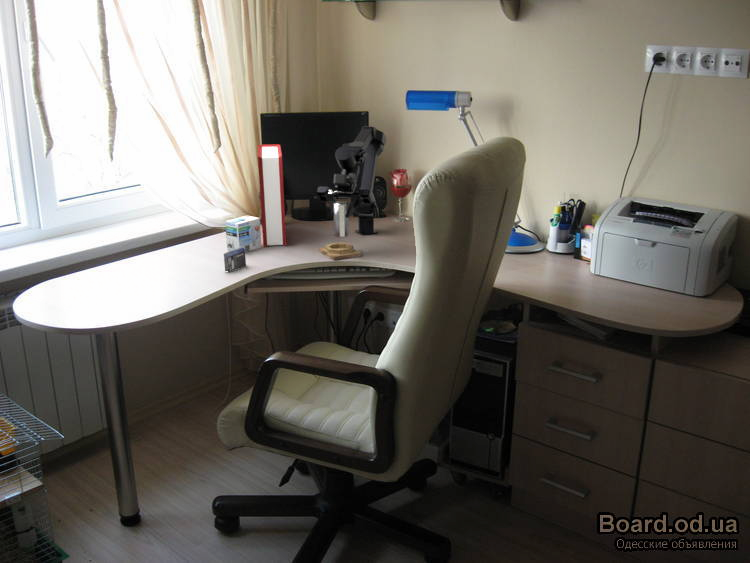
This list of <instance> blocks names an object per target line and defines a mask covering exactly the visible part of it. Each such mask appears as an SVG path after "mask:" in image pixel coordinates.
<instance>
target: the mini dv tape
mask: <svg viewBox="0 0 750 563" xmlns="http://www.w3.org/2000/svg"><path fill="white" fill-rule="evenodd" d="M246 259H247V258H246V252H245V249H244V248H238V249H235V250H233V251H227V252H225V253H223V262H224V271H228V272H227V273H231V272H233V271H232V270H234V271H236V270H235V269H237V270H239V269H241V267H242V268H244V267H246V266H247V264H246V263H247V262H246ZM238 268H239V269H238ZM230 271H231V272H230Z"/></svg>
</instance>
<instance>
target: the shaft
mask: <svg viewBox="0 0 750 563" xmlns="http://www.w3.org/2000/svg"><path fill="white" fill-rule="evenodd" d="M348 208H349V202H348V201H344V200H343V201H342V200H339V201H338V200H337V201H336V202H334V203H333V213H334V216H333V236H334V237H336V238H345V237H348V236H350V224H349V223H350V222H349V221H350V219H349V218H350V217H349V218H347V212H348Z"/></svg>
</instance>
